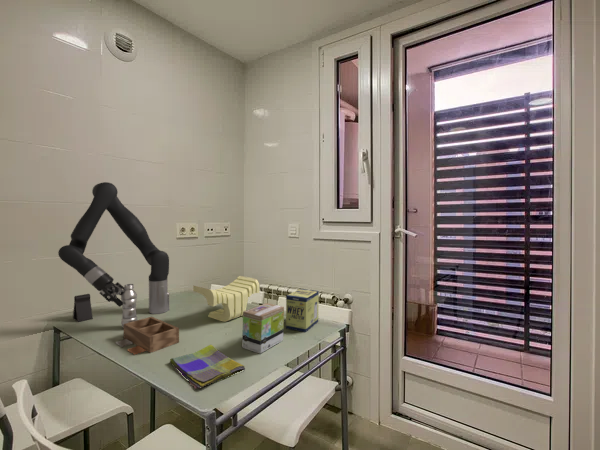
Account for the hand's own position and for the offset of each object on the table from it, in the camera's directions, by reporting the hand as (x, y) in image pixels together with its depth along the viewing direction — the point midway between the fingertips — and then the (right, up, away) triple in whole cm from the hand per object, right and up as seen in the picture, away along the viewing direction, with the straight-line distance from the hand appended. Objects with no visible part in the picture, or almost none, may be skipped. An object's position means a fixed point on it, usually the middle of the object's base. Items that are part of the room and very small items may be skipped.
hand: (126, 302), depth 137 cm
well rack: (+17, -12, -15) cm, 26 cm away
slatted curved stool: (+43, -12, +17) cm, 48 cm away
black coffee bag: (-29, -11, +12) cm, 33 cm away
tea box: (+66, -13, -17) cm, 69 cm away
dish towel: (+48, -14, -35) cm, 61 cm away
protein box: (+82, -12, +5) cm, 83 cm away
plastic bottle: (+1, -12, +1) cm, 12 cm away
